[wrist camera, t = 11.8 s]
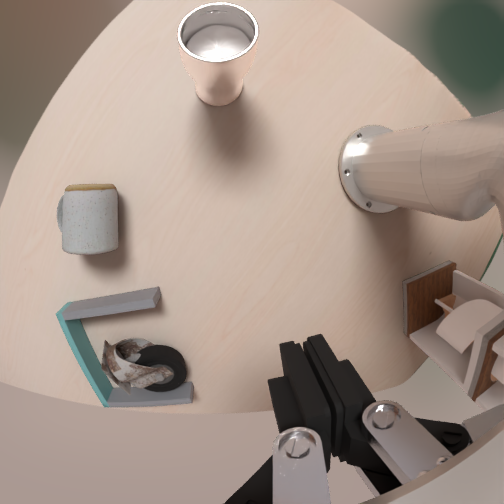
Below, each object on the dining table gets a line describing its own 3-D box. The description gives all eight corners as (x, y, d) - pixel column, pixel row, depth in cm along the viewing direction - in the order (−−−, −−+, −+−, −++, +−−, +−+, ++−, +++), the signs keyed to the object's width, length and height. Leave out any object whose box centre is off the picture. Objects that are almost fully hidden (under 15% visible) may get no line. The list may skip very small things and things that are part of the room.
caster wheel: (191, 360, 43) (143, 382, 42) (153, 313, 38) (102, 340, 37) (199, 389, 38) (146, 412, 36) (155, 342, 32) (98, 370, 31)
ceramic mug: (126, 181, 33) (102, 183, 26) (126, 243, 35) (104, 259, 28) (61, 185, 32) (30, 188, 25) (63, 241, 34) (34, 255, 27)
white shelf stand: (448, 260, 41) (601, 344, 8) (447, 309, 44) (571, 405, 11) (402, 281, 41) (568, 405, 7) (403, 332, 44) (528, 460, 10)
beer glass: (254, 72, 31) (274, 14, 17) (233, 116, 32) (242, 76, 18) (204, 56, 30) (197, -7, 15) (183, 100, 31) (159, 52, 17)
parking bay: (158, 286, 37) (152, 298, 33) (193, 386, 42) (192, 403, 38) (67, 302, 36) (55, 313, 32) (110, 392, 41) (104, 407, 37)
